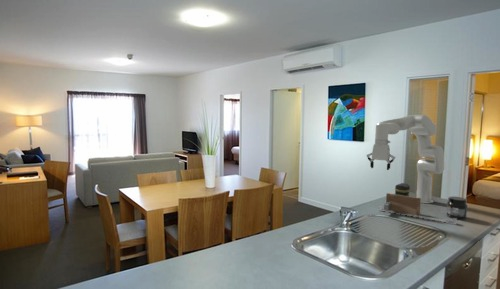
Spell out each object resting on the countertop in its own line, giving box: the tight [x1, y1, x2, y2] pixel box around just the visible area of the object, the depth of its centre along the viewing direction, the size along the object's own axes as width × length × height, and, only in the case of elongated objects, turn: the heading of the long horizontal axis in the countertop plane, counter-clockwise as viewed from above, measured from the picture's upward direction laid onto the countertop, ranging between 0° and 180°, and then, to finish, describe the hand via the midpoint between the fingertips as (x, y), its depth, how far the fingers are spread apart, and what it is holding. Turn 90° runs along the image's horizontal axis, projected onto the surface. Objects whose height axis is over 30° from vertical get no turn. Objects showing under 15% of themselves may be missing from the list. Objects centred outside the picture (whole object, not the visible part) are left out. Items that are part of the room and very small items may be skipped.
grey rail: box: [378, 204, 458, 225], centre depth 192 cm, size 3×43×3 cm, turn 53°
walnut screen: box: [383, 192, 422, 216], centre depth 193 cm, size 10×20×11 cm, turn 53°
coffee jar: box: [394, 182, 411, 196], centre depth 203 cm, size 10×8×19 cm
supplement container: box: [446, 196, 468, 220], centre depth 192 cm, size 10×10×12 cm
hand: (380, 168), depth 197 cm, fingers open, 9 cm apart
